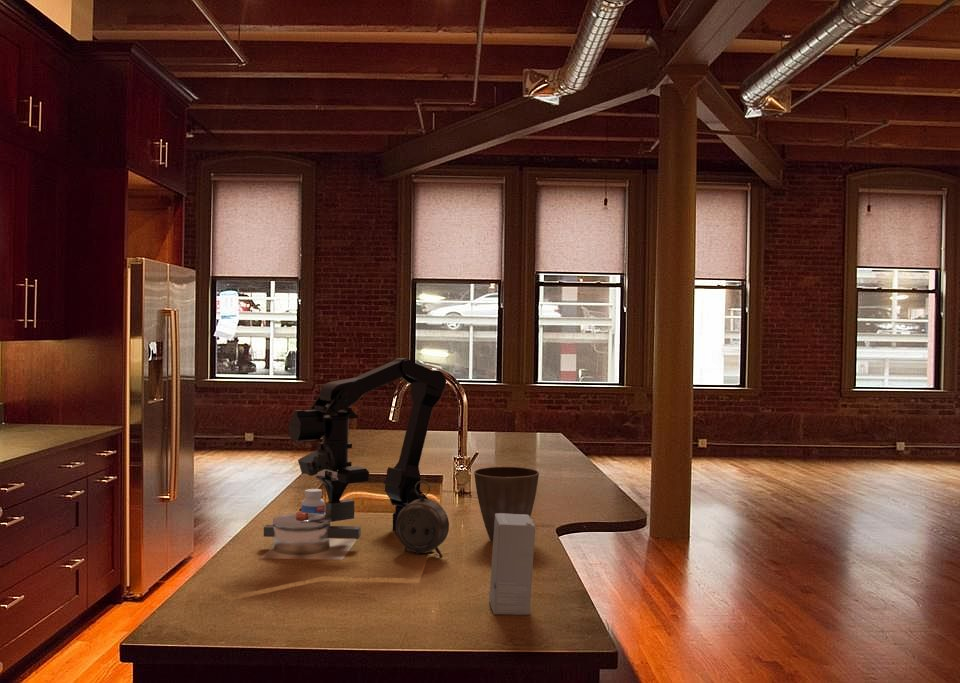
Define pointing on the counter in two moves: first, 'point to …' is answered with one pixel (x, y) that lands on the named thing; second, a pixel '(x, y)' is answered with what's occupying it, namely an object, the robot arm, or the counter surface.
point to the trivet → (334, 553)
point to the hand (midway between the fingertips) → (333, 507)
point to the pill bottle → (313, 502)
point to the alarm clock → (422, 525)
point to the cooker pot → (308, 538)
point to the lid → (317, 516)
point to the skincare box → (512, 564)
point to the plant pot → (505, 492)
